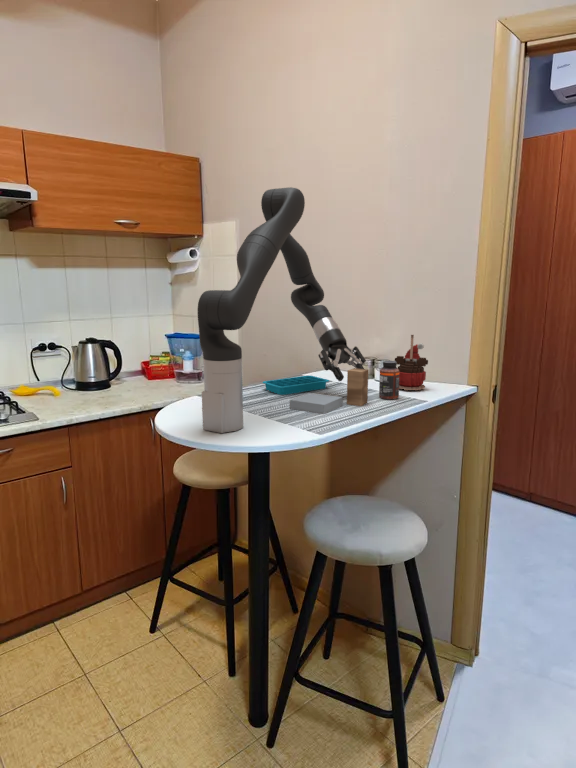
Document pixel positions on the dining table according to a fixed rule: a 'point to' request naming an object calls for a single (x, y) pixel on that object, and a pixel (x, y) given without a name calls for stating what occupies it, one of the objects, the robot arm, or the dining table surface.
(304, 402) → the base block
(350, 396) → the walnut post
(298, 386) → the ice cube tray
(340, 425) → the dining table surface
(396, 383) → the supplement bottle
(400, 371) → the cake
